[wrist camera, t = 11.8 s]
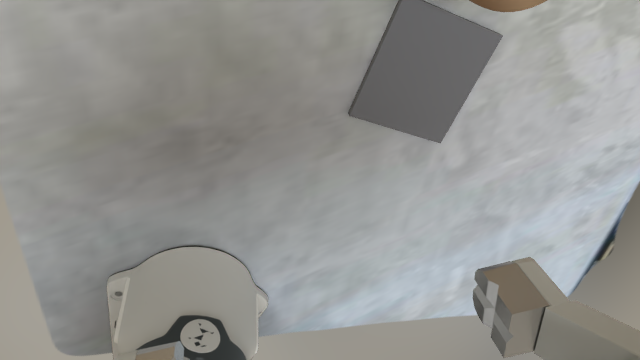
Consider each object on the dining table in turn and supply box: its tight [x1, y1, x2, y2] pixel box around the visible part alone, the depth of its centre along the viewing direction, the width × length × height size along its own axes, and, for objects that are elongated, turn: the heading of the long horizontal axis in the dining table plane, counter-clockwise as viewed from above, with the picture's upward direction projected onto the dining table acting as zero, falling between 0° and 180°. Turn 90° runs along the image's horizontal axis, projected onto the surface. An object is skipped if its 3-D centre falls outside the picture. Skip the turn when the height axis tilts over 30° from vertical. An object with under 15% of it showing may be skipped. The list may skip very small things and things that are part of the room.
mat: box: [348, 0, 503, 143], centre depth 42 cm, size 12×11×1 cm
